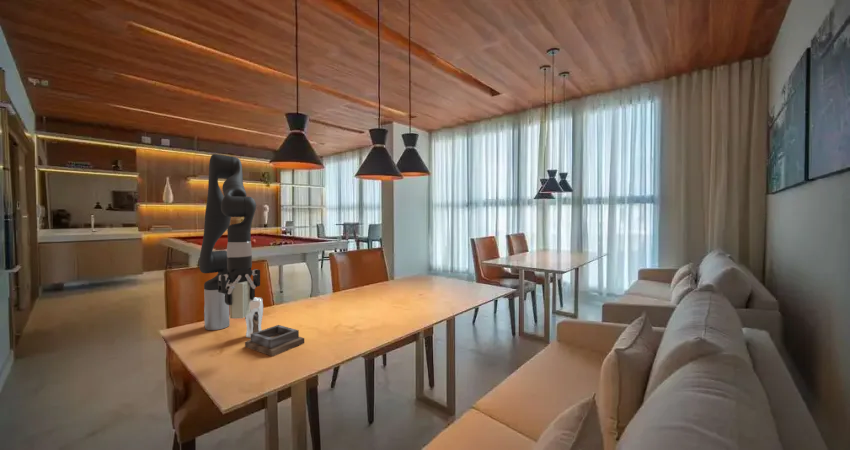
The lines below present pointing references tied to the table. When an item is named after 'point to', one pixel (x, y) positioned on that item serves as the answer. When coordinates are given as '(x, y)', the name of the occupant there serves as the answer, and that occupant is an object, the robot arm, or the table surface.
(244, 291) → the skincare box
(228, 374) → the table surface
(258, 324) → the beer glass
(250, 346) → the pocket stand
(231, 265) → the robot arm
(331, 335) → the table surface
